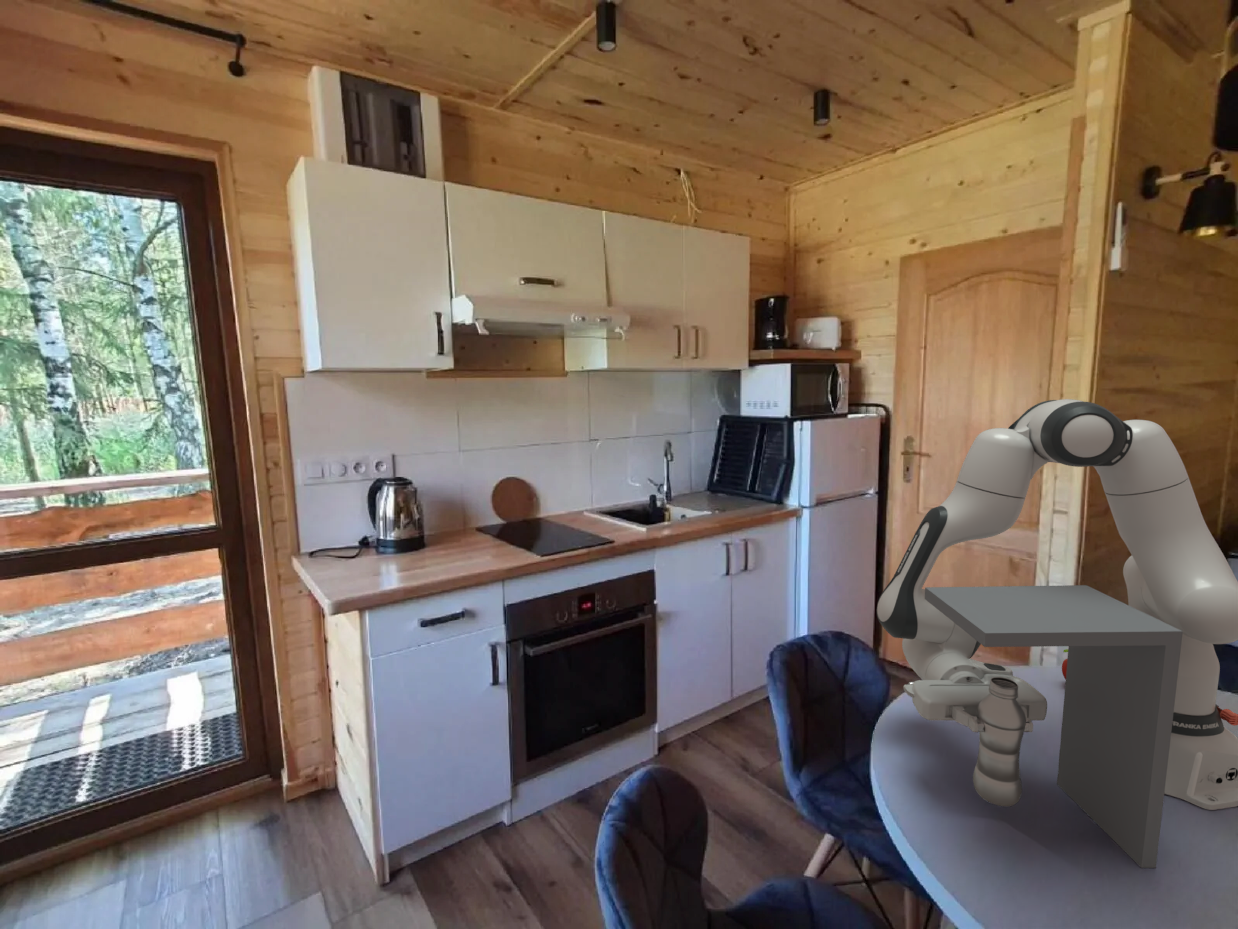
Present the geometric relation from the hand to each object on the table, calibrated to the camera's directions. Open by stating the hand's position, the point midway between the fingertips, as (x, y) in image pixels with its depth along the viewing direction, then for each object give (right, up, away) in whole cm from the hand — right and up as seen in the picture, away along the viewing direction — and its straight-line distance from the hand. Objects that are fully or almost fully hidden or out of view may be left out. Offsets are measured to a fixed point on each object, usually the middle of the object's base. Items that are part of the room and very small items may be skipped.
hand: (1003, 728), depth 94 cm
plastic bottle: (0, -13, +3) cm, 13 cm away
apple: (+42, -9, +40) cm, 59 cm away
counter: (+5, -16, +2) cm, 17 cm away
